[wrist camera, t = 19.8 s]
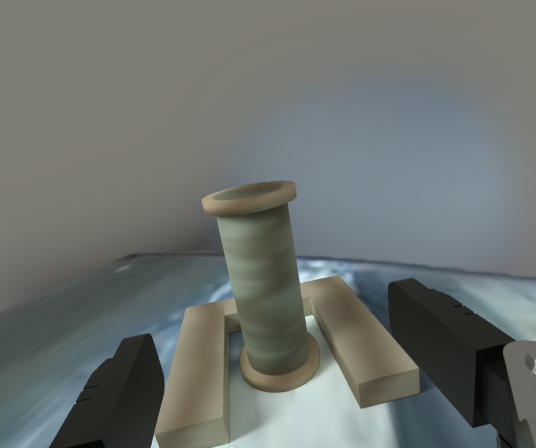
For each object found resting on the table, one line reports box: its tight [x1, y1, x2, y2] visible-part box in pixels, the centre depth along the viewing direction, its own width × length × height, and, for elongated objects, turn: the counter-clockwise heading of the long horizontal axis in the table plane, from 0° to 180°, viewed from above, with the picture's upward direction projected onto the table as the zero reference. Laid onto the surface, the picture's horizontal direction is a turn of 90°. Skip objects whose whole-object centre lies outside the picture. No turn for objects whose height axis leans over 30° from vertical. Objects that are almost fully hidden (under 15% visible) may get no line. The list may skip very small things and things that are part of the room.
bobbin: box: [202, 181, 320, 392], centre depth 22 cm, size 6×6×14 cm
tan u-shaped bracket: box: [155, 275, 420, 448], centre depth 25 cm, size 16×14×2 cm
